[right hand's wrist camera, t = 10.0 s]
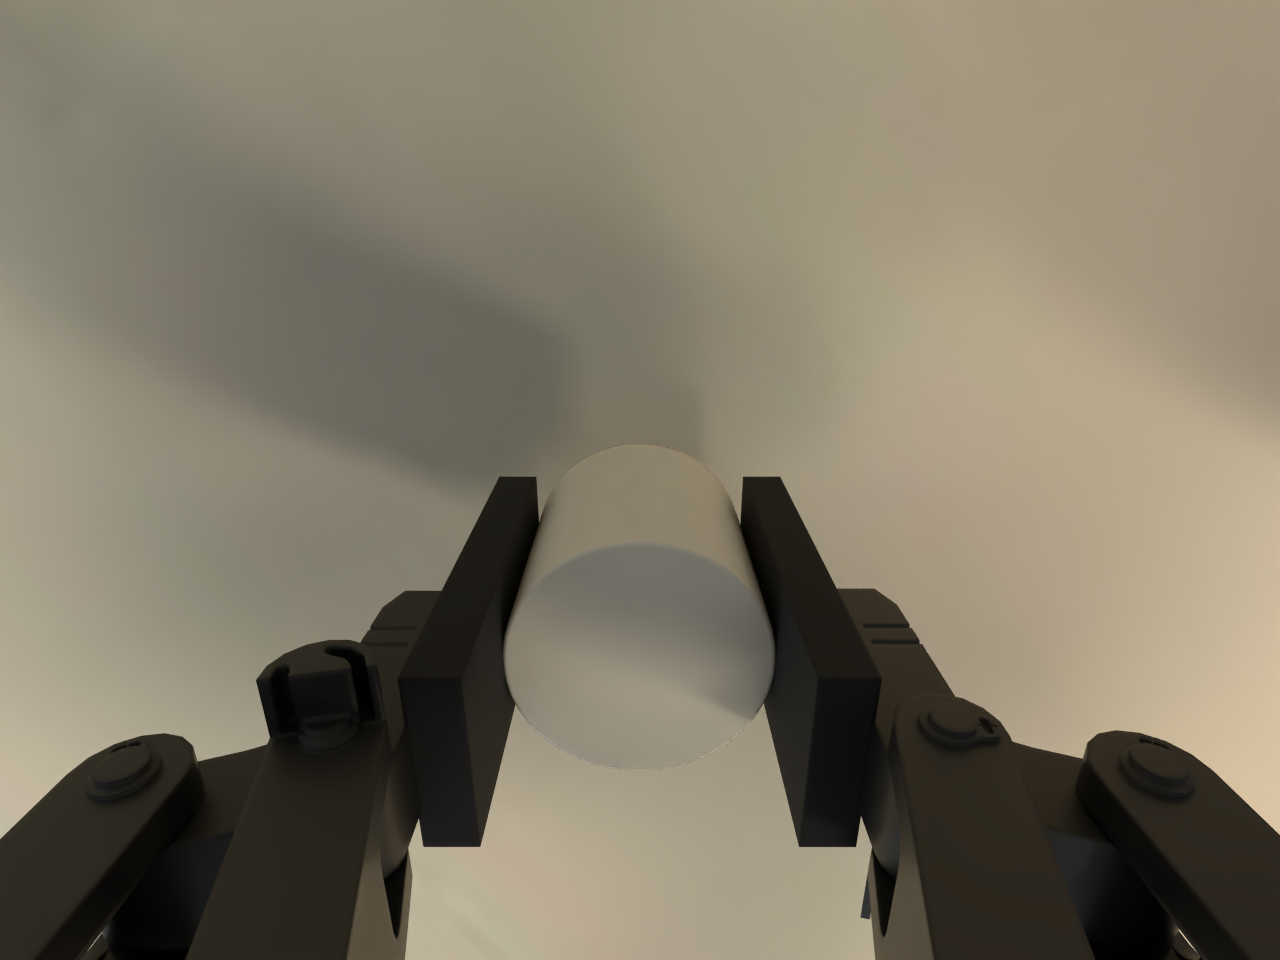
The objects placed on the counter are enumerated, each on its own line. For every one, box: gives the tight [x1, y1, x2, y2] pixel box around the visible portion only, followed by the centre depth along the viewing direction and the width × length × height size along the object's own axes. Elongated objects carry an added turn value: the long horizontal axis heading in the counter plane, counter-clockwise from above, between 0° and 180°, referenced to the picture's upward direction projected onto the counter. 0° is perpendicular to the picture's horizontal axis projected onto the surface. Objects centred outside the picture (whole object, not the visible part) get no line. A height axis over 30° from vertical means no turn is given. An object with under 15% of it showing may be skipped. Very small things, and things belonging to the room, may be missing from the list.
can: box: [503, 444, 776, 771], centre depth 13 cm, size 4×4×4 cm
